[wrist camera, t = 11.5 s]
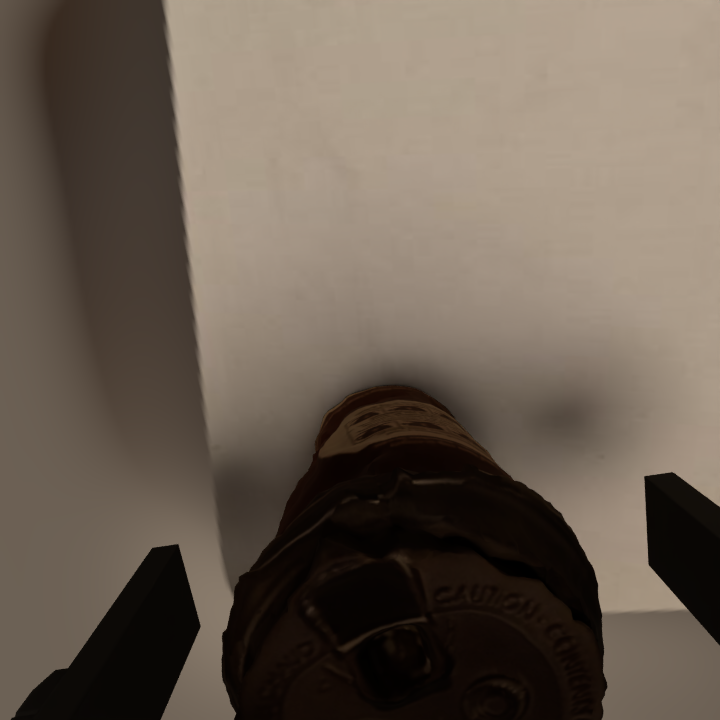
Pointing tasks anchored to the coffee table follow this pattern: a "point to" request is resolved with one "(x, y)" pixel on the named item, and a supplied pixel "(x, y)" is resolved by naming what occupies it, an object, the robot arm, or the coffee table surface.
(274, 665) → the coffee cup
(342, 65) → the coffee table surface
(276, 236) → the coffee table surface
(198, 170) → the coffee table surface
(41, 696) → the robot arm
